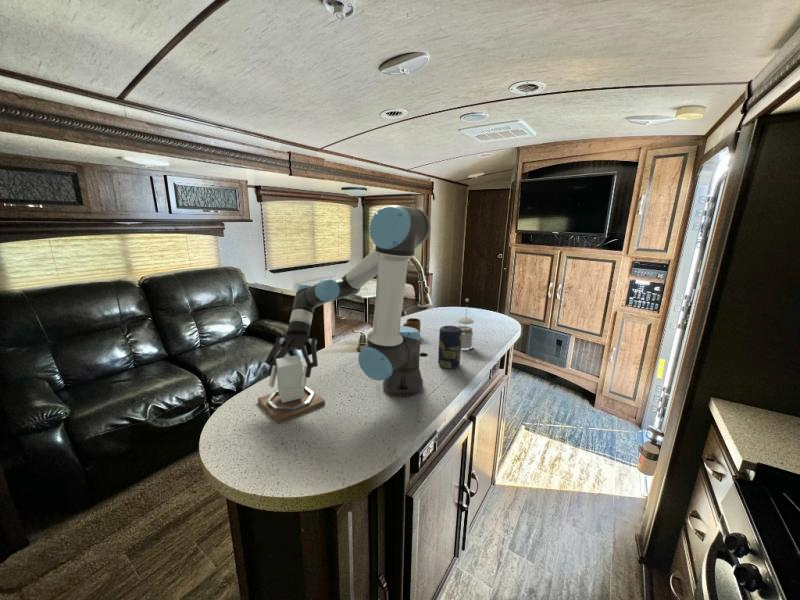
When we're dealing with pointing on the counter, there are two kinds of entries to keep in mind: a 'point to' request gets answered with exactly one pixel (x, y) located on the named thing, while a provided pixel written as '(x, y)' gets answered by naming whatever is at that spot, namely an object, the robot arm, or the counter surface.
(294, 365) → the supplement box
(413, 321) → the mug
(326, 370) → the counter surface
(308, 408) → the walnut board
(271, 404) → the metal ring
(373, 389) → the counter surface
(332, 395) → the counter surface
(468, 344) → the french press
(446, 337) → the canister
